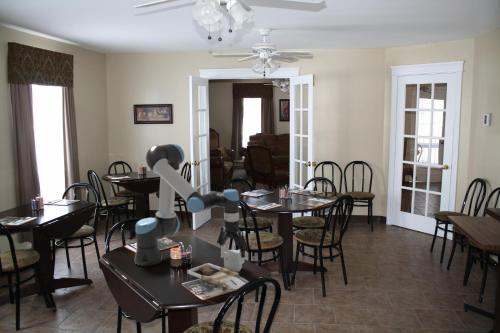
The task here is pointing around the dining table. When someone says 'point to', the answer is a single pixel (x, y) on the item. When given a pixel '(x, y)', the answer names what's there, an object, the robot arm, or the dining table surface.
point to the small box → (232, 260)
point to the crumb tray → (198, 269)
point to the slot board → (220, 276)
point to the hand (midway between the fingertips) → (232, 260)
